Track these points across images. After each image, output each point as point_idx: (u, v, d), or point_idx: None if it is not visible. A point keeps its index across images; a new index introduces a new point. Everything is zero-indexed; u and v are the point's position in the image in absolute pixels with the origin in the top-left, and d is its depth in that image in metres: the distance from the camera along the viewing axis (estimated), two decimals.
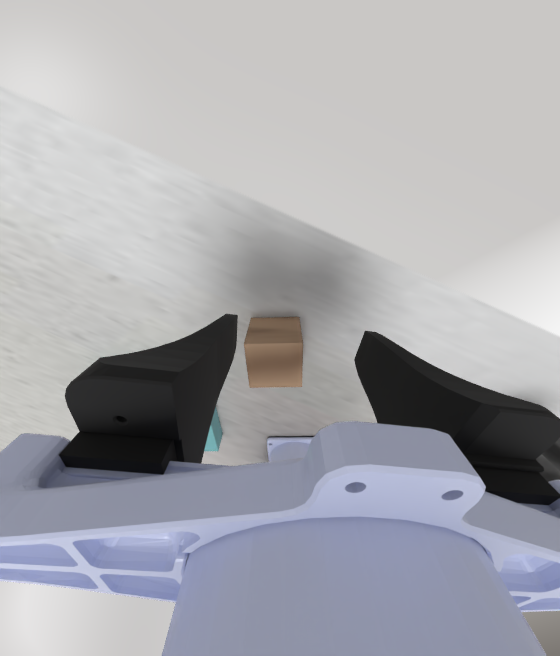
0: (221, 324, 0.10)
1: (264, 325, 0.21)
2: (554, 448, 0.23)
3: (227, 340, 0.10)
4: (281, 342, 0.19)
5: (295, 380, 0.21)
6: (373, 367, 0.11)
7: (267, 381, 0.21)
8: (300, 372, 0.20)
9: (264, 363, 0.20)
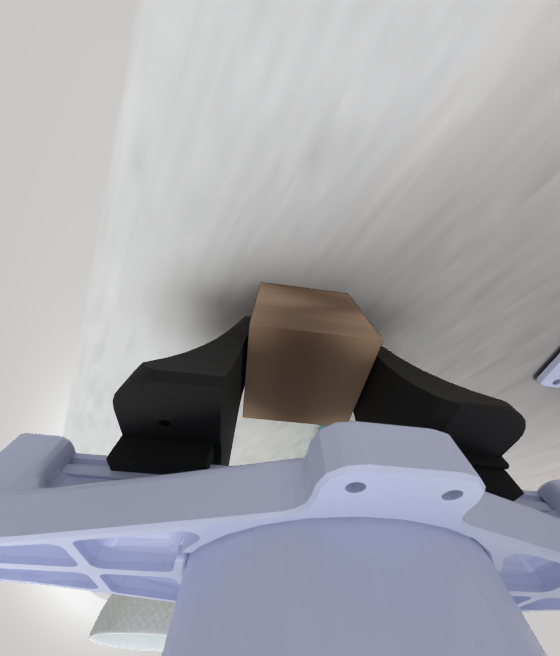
0: (244, 327, 0.10)
1: None
2: None
3: None
4: (247, 361, 0.09)
5: (358, 352, 0.08)
6: None
7: (340, 400, 0.10)
8: (337, 339, 0.08)
9: (293, 397, 0.10)
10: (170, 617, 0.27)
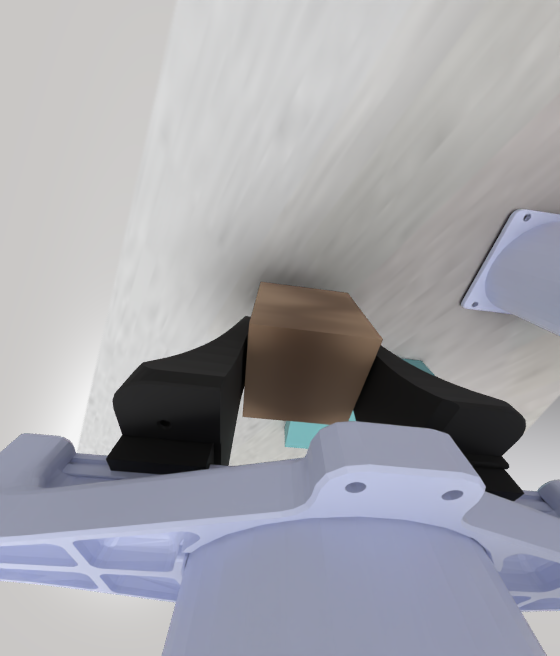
0: (244, 327, 0.10)
1: None
2: None
3: None
4: (246, 361, 0.09)
5: (357, 351, 0.08)
6: None
7: (340, 399, 0.10)
8: (336, 338, 0.08)
9: (292, 396, 0.10)
10: None
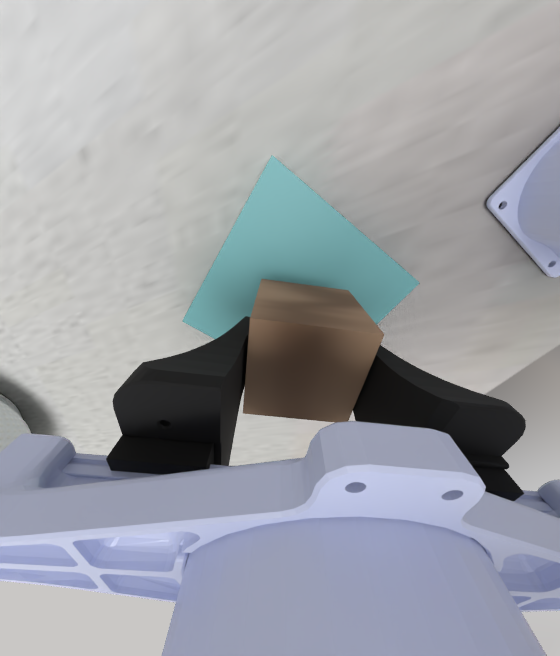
0: (244, 327, 0.10)
1: None
2: None
3: None
4: (247, 356, 0.09)
5: (359, 346, 0.08)
6: None
7: (341, 395, 0.10)
8: (337, 333, 0.08)
9: (293, 392, 0.10)
10: None
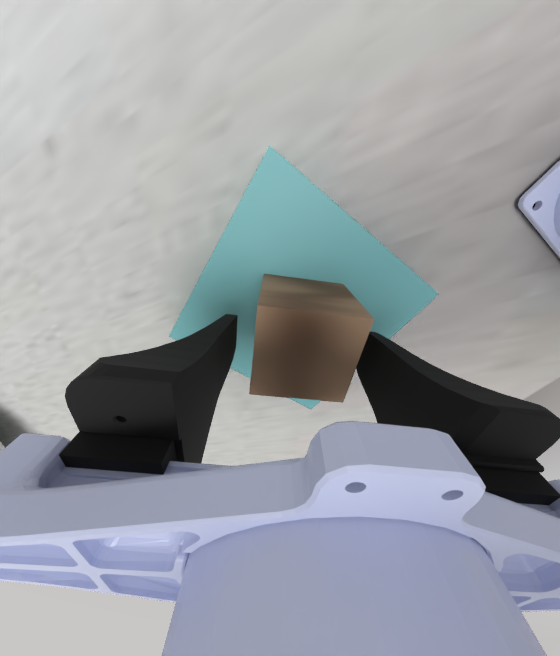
0: (221, 324, 0.10)
1: None
2: None
3: (227, 340, 0.10)
4: (254, 340, 0.10)
5: (352, 330, 0.10)
6: (373, 368, 0.11)
7: (337, 376, 0.11)
8: (334, 318, 0.09)
9: (295, 373, 0.11)
10: None
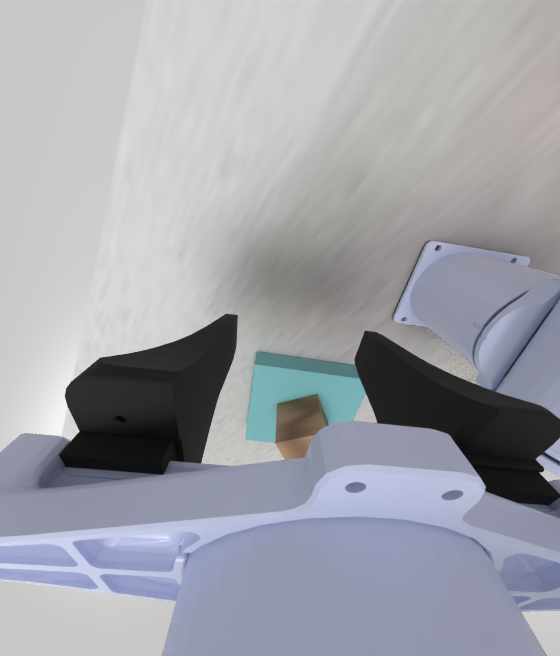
0: (221, 324, 0.10)
1: None
2: None
3: (227, 340, 0.10)
4: (281, 452, 0.23)
5: None
6: (373, 367, 0.11)
7: None
8: (307, 437, 0.21)
9: None
10: None
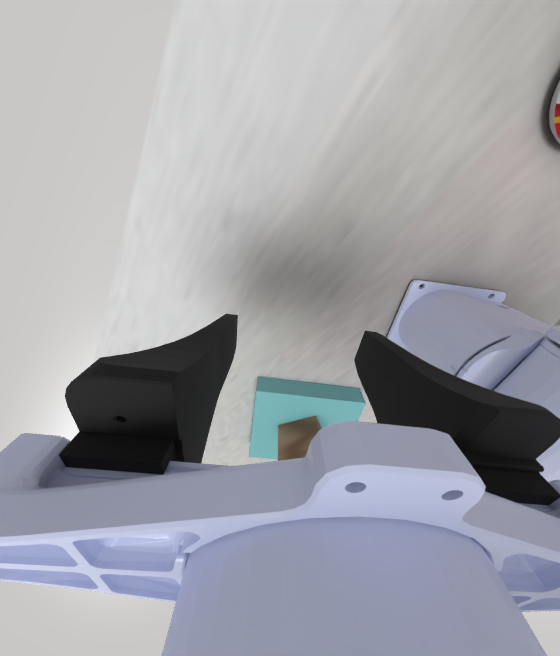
0: (221, 324, 0.10)
1: None
2: None
3: (227, 340, 0.10)
4: None
5: None
6: (373, 367, 0.11)
7: None
8: None
9: None
10: None
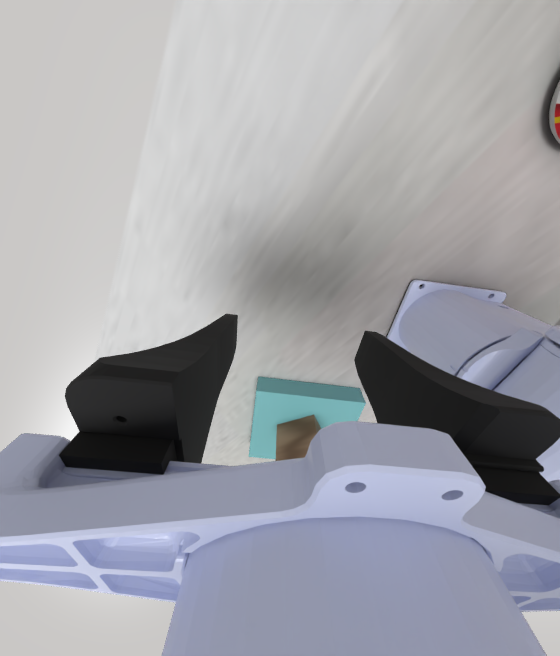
0: (221, 324, 0.10)
1: None
2: None
3: (227, 340, 0.10)
4: None
5: None
6: (373, 367, 0.11)
7: None
8: None
9: None
10: None
